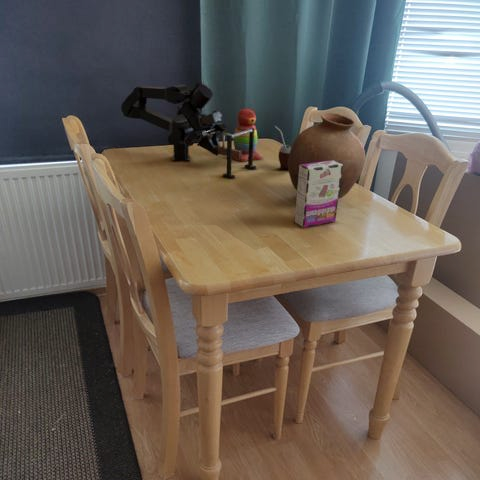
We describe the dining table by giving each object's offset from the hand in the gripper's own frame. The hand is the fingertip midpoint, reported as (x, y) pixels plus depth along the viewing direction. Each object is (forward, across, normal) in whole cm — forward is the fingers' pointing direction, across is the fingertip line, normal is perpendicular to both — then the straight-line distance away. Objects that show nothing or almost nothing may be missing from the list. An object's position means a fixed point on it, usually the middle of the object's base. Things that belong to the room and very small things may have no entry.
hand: (219, 154), depth 174 cm
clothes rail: (+10, 0, -3) cm, 10 cm away
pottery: (+35, -6, -28) cm, 45 cm away
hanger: (+2, 0, -2) cm, 3 cm away
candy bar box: (+40, -26, -33) cm, 58 cm away
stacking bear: (+4, +18, +4) cm, 19 cm away
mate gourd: (+18, +15, -11) cm, 25 cm away
